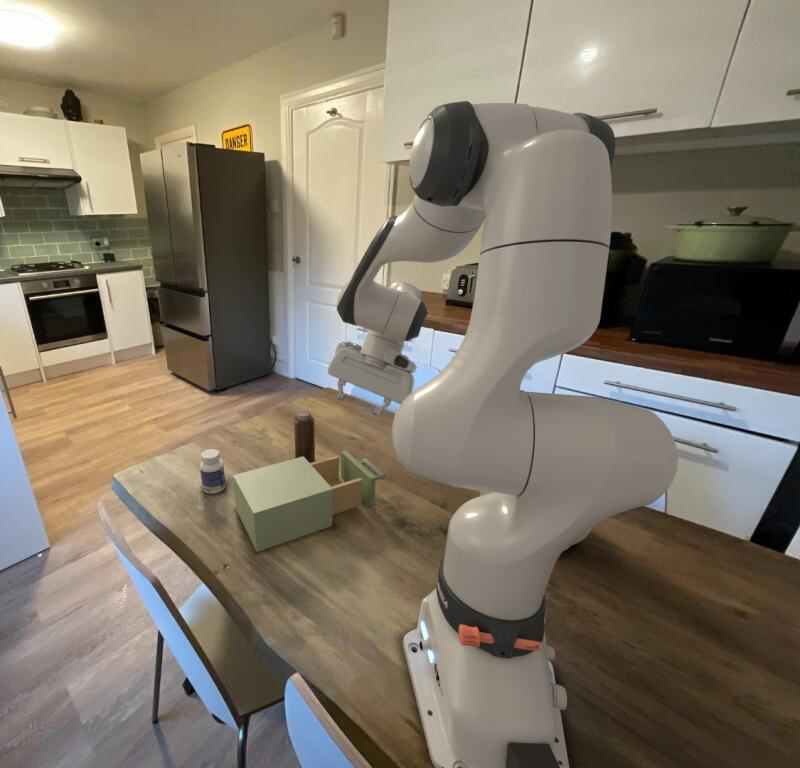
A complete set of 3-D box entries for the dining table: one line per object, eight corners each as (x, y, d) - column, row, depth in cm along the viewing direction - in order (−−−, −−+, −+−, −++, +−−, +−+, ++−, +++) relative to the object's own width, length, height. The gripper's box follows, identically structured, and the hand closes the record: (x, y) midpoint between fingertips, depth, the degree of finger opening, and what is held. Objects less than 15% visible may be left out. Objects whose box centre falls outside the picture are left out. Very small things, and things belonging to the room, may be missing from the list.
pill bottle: (228, 490, 92) (224, 456, 88) (205, 496, 90) (200, 462, 86) (222, 478, 96) (219, 445, 93) (200, 483, 94) (196, 450, 91)
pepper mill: (313, 471, 97) (312, 418, 92) (293, 470, 98) (291, 416, 93) (316, 461, 101) (315, 409, 96) (297, 459, 103) (296, 407, 97)
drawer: (361, 471, 95) (361, 445, 93) (391, 499, 85) (393, 471, 83) (287, 493, 88) (286, 466, 86) (311, 527, 78) (310, 497, 76)
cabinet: (304, 489, 91) (303, 456, 88) (332, 525, 80) (332, 488, 77) (236, 510, 85) (232, 475, 82) (256, 552, 74) (253, 513, 71)
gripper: (336, 336, 96) (315, 390, 97) (420, 367, 88) (395, 425, 89) (344, 340, 101) (323, 391, 103) (423, 369, 93) (399, 424, 95)
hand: (357, 407), depth 96 cm, fingers open, 8 cm apart
